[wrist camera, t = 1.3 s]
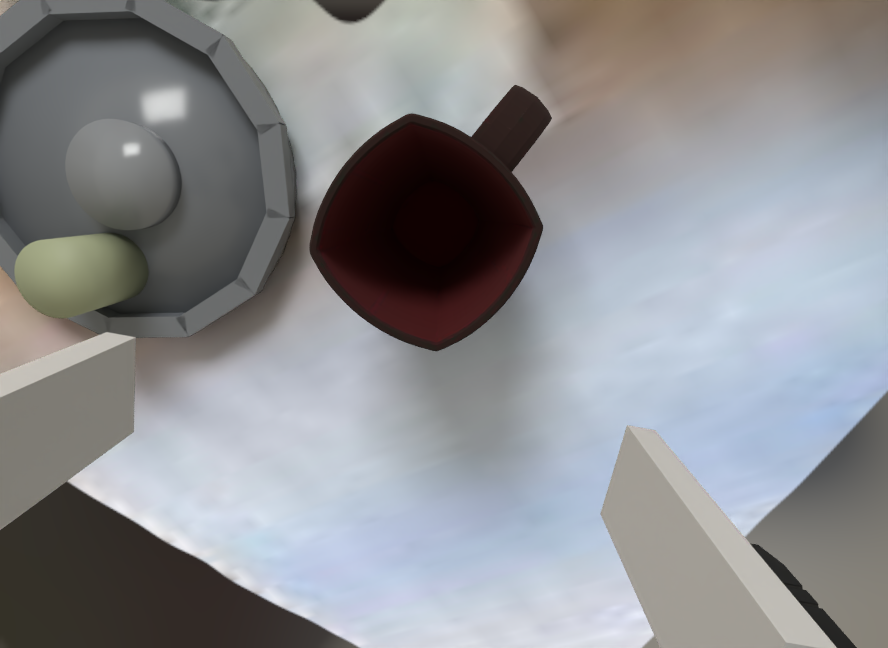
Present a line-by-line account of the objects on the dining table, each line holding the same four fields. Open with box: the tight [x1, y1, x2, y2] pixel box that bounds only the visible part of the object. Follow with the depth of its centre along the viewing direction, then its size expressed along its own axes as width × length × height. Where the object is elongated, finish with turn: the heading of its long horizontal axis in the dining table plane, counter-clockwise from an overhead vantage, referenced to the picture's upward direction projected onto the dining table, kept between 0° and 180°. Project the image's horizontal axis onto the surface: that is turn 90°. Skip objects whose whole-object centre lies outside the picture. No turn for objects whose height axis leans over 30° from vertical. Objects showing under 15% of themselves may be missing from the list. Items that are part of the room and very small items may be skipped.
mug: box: [310, 85, 552, 351], centre depth 29 cm, size 10×14×12 cm
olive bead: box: [14, 233, 149, 318], centre depth 33 cm, size 5×5×6 cm
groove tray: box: [0, 0, 296, 338], centre depth 34 cm, size 22×22×2 cm
